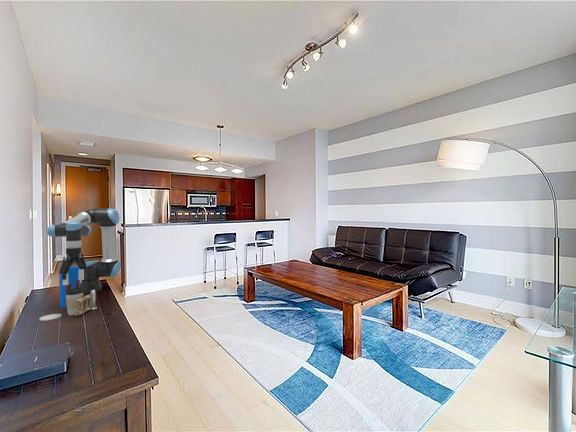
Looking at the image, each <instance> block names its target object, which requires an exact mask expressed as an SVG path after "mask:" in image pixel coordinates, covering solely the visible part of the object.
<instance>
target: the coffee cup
mask: <svg viewBox="0 0 576 432" xmlns="http://www.w3.org/2000/svg"><path fill="white" fill-rule="evenodd" d="M83 292H84V291H83V290H82V289H81V288H79V287H78V288H74V289H69V290H68V291H67V292H66V304H67V307H66V310H67V315H68V316H75V301H76V300H78V299H80V298H83V297H84V293H83ZM79 311H81V302H79Z"/></svg>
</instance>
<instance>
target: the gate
mask: <svg viewBox="0 0 576 432" xmlns="http://www.w3.org/2000/svg"><path fill="white" fill-rule="evenodd" d="M79 302H81V311H79ZM92 308H93V294H91V293H90V294H89V293H88V294H87V295H84V296H83V298H80V299H78V300H76V301H75V315H74V316H75V317H79V316H80V315H83V314H84V313H86V312H88V311H89V310H90V309H92ZM90 311H91V310H90Z"/></svg>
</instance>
